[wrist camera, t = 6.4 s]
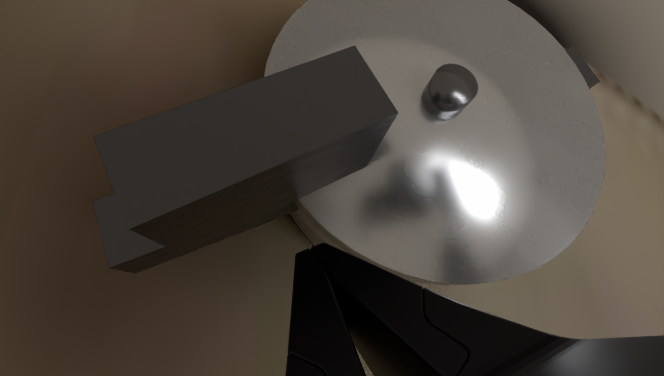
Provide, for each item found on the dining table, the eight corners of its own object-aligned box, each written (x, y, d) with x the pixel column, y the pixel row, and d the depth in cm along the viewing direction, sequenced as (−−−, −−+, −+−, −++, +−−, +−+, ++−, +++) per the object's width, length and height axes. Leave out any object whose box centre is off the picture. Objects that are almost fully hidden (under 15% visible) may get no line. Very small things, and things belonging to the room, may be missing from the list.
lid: (647, 186, 15) (800, 136, 11) (265, 441, 10) (251, 550, 6) (465, -40, 19) (523, -150, 14) (108, 66, 13) (21, -51, 9)
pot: (587, 204, 21) (675, 175, 16) (193, 400, 15) (150, 446, 10) (473, 31, 24) (518, -34, 19) (115, 132, 18) (57, 73, 13)
